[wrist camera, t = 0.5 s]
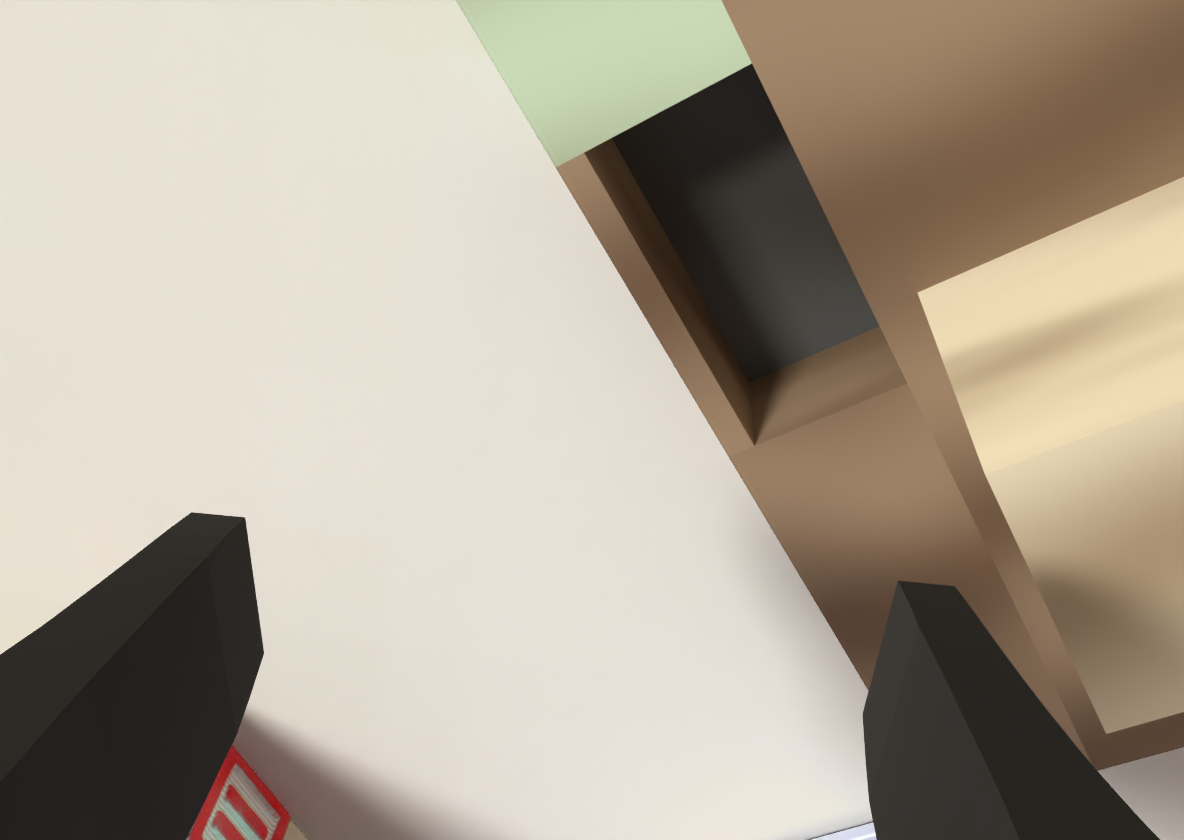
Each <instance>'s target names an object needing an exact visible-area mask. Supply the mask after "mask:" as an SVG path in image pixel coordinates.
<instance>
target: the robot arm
mask: <svg viewBox="0 0 1184 840" xmlns="http://www.w3.org/2000/svg"><path fill="white" fill-rule="evenodd" d="M263 654H264V650H263V643H262V636H261V628H260V621H259V614H258V607H257V600H256V593H255V585H254V578H253V571H252V564H251V557H250V550H249V542H248V535H247V528H246V521H245V518H244V517H234V516H223V515H213V514H203V513H192V512H191V513H190V514H189V515H187V516H186V517H185V518H183V519H182V520H181V521H179V522H178V523H176V524H175V525H174V526H172V527H171V528H170V529H169V530H167V531H166V532H165V533H163V534H162V535H161V536H159V537H158V538H157V539H156V540H154V541H153V542H152V543H150V544H149V545H148V546H147V547H145V548H144V549H143V550H141V551H140V552H139V553H138V554H136V555H135V556H134V557H132V558H131V559H130V560H129V561H127V562H126V563H125V564H124V565H122V566H121V567H120V568H118V569H117V570H116V571H114V572H113V573H112V574H111V575H109V576H108V577H107V578H105V579H104V580H103V581H101V582H100V583H99V584H97V585H96V586H95V587H93V588H92V589H91V590H90V591H88V592H87V593H86V594H84V595H83V596H82V597H80V598H79V599H78V600H76V601H75V602H74V603H72V604H71V605H70V606H68V607H67V608H66V609H64V610H63V611H62V612H60V613H59V614H58V615H56V616H55V617H54V618H52V619H51V620H50V621H48V622H47V623H46V624H44V625H43V626H41V627H40V628H38V629H37V630H36V631H34V632H33V633H31V634H30V635H28V636H27V637H25V638H24V639H22V640H21V641H20V642H18V643H17V644H15V645H14V646H12V647H11V648H9V649H8V650H6V651H5V652H4V653H2V654H1V655H0V840H186V838H187V836H188V834H189V832H190V830H191V828H192V826H193V824H194V822H195V820H196V818H197V816H198V814H199V812H200V810H201V808H202V806H203V804H204V802H205V800H206V798H207V796H208V793H209V791H210V789H211V787H212V785H213V783H214V781H215V779H216V777H217V775H218V773H219V771H220V769H221V767H222V764H223V762H224V760H225V758H226V756H227V754H228V752H229V750H230V748H231V746H232V743H233V741H234V739H235V737H236V735H237V732H238V729H239V726H240V724H241V721H242V718H243V715H244V712H245V709H246V706H247V704H248V701H249V698H250V695H251V692H252V689H253V686H254V682H255V679H256V676H257V673H258V670H259V667H260V664H261V661H262V658H263ZM863 726H864V741H865V756H866V769H867V780H868V792H869V802H870V807H871V813H872V818H873V822H872V823H869V824H865V825H862V826H858V827H854V828H851V829H847V830H844V831H840V832H836V833H833V834H829V835H826V836H822V837H818V838H815V839H811V840H1160V839H1159V838H1158V837H1157V836H1156V835H1155V834H1154V833H1153V832H1152V831H1151V830H1150V829H1149V828H1148V827H1147V826H1146V825H1145V824H1144V823H1143V821H1142V820H1141V819H1140V818H1139V817H1138V816H1137V815H1136V814H1135V813H1134V812H1133V811H1132V809H1131V808H1130V807H1129V806H1128V805H1127V804H1126V803H1125V802H1124V801H1123V799H1122V798H1121V797H1120V796H1119V795H1118V794H1117V793H1116V792H1115V790H1114V789H1113V788H1112V787H1111V786H1110V785H1109V784H1108V783H1107V782H1106V780H1105V779H1104V778H1103V777H1102V776H1101V775H1100V774H1099V772H1098V771H1097V770H1096V769H1095V768H1094V766H1093V765H1092V764H1091V763H1090V762H1089V761H1088V759H1087V758H1086V757H1085V756H1084V755H1083V753H1082V752H1081V751H1080V750H1079V749H1078V747H1077V746H1076V745H1075V744H1074V742H1073V741H1072V740H1071V739H1070V737H1069V736H1068V735H1067V734H1066V732H1065V731H1064V730H1063V729H1062V727H1061V726H1060V725H1059V724H1058V722H1057V721H1056V720H1055V719H1054V717H1053V716H1052V715H1051V714H1050V712H1049V711H1048V710H1047V709H1046V707H1045V706H1044V705H1043V704H1042V702H1041V701H1040V700H1039V699H1038V697H1037V696H1036V695H1035V693H1034V692H1033V691H1032V689H1031V688H1030V687H1029V686H1028V684H1027V683H1026V682H1025V680H1024V679H1023V678H1022V676H1021V675H1020V674H1019V672H1018V671H1017V670H1016V668H1015V667H1014V665H1013V664H1012V663H1011V661H1010V660H1009V659H1008V657H1007V656H1006V655H1005V653H1004V652H1003V651H1002V649H1001V648H1000V647H999V645H998V644H997V642H996V641H995V640H994V638H993V637H992V636H991V634H990V633H989V632H988V630H987V629H986V627H985V626H984V625H983V623H982V622H981V620H980V619H979V618H978V616H977V615H976V614H975V612H974V611H973V609H972V608H971V607H970V605H969V604H968V603H967V601H966V600H965V599H964V597H963V596H962V595H961V593H960V592H959V591H958V590H957V588H956V587H955V586H949V585H938V584H928V583H918V582H907V581H898V582H897V586H896V590H895V593H894V597H893V601H892V605H891V608H890V612H889V616H888V620H887V624H886V627H885V631H884V635H883V639H882V643H881V646H880V650H879V654H878V658H877V662H876V665H875V669H874V673H873V677H872V681H871V684H870V688H869V692H868V696H867V700H866V703H865V707H864V711H863Z"/></svg>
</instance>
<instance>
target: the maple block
mask: <svg viewBox="0 0 1184 840" xmlns="http://www.w3.org/2000/svg"><path fill="white" fill-rule="evenodd" d="M918 296H919V298H920V301H921V304H922V306H923V309H924V312H925V314H926V317H927V320H928V323H929V325H930V328H931V331H932V333H933V336H934V339H935V341H936V344H937V347H938V349H939V352H940V355H941V358H942V360H943V363H944V366H945V368H946V371H947V374H948V376H949V379H950V382H951V384H952V387H953V390H954V393H955V395H956V398H957V401H958V403H959V406H960V409H961V411H962V414H963V417H964V420H965V422H966V425H967V428H968V430H969V433H970V436H971V438H972V441H973V444H974V446H975V449H976V452H977V455H978V457H979V460H980V463H981V465H982V468H983V471H984V473H985V476H986V478H987V480H988V482H989V484H990V486H991V489H992V491H993V493H994V495H995V497H996V499H997V501H998V504H999V506H1000V508H1001V510H1002V512H1003V514H1004V516H1005V518H1006V521H1007V523H1008V525H1009V527H1010V529H1011V531H1012V533H1013V536H1014V538H1015V540H1016V542H1017V544H1018V546H1019V548H1020V551H1021V553H1022V555H1023V557H1024V559H1025V561H1026V563H1027V566H1028V568H1029V570H1030V572H1031V574H1032V576H1033V578H1034V580H1035V583H1036V585H1037V587H1038V589H1039V591H1040V593H1041V595H1042V598H1043V600H1044V602H1045V604H1046V606H1047V608H1048V610H1049V613H1050V615H1051V617H1052V619H1053V621H1054V623H1055V625H1056V628H1057V630H1058V632H1059V634H1060V636H1061V638H1062V640H1063V642H1064V645H1065V647H1066V649H1067V651H1068V653H1069V655H1070V657H1071V660H1072V662H1073V664H1074V666H1075V668H1076V670H1077V672H1078V675H1079V677H1080V679H1081V681H1082V683H1083V685H1084V687H1085V690H1086V692H1087V694H1088V696H1089V698H1090V700H1091V702H1092V704H1093V707H1094V709H1095V711H1096V713H1097V715H1098V717H1099V719H1100V722H1101V724H1102V726H1103V728H1104V730H1105V732H1106V734H1108V733H1112V732H1115V731H1119V730H1122V729H1126V728H1129V727H1133V726H1136V725H1140V724H1143V723H1147V722H1150V721H1154V720H1157V719H1161V718H1164V717H1168V716H1171V715H1175V714H1178V713H1182V712H1184V177H1182V178H1180V179H1178V180H1175V181H1173V182H1171V183H1168V184H1166V185H1164V186H1162V187H1159V188H1157V189H1155V190H1152V191H1150V192H1148V193H1145V194H1143V195H1141V196H1139V197H1136V198H1134V199H1132V200H1129V201H1127V202H1125V203H1122V204H1120V205H1118V206H1116V207H1113V208H1111V209H1109V210H1106V211H1104V212H1102V213H1099V214H1097V215H1095V216H1093V217H1090V218H1088V219H1086V220H1083V221H1081V222H1079V223H1076V224H1074V225H1072V226H1070V227H1067V228H1065V229H1063V230H1060V231H1058V232H1056V233H1053V234H1051V235H1049V236H1047V237H1044V238H1042V239H1040V240H1037V241H1035V242H1033V243H1030V244H1028V245H1026V246H1024V247H1021V248H1019V249H1017V250H1014V251H1012V252H1010V253H1007V254H1005V255H1003V256H1001V257H998V258H996V259H994V260H991V261H989V262H987V263H985V264H982V265H980V266H978V267H975V268H973V269H971V270H968V271H966V272H964V273H962V274H959V275H957V276H955V277H952V278H950V279H948V280H945V281H943V282H941V283H939V284H936V285H934V286H932V287H929V288H927V289H925V290H922V291H920V292H918Z"/></svg>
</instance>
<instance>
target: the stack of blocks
mask: <svg viewBox="0 0 1184 840" xmlns="http://www.w3.org/2000/svg"><path fill="white" fill-rule="evenodd" d="M186 840H308V839H307V838H306V837H305V835H304V834H303V833H302V832H301V831H300V829H299V828H298V827H297V826H296V825H295V824H294V823H293V822H292V821H291V819H290V815H289V813H288V812H287V811H286V810H285V809H284V807H283V806H282V805H281V804H280V802H279V801H278V800H277V799H276V797H275V796H274V795H273V794H272V793H271V792H270V790H269V789H268V788H267V787H266V786H265V784H264V783H263V782H262V781H261V780H260V778H259V777H258V776H257V775H256V773H255V772H254V771H253V770H252V769H251V767H250V766H249V765H248V764H247V763H246V762H245V760H244V759H243V758H242V757H241V756H240V754H239V753H238V752H237V751H236V750H235V748H234V747H233V746H231V748H230V750H229V752H228V754H227V756H226V758H225V760H224V762H223V764H222V767H221V769H220V771H219V773H218V775H217V777H216V779H215V781H214V783H213V785H212V787H211V789H210V791H209V793H208V796H207V798H206V800H205V802H204V804H203V806H202V808H201V810H200V812H199V814H198V816H197V818H196V820H195V822H194V824H193V826H192V828H191V830H190V832H189V834H188V836H187V838H186Z"/></svg>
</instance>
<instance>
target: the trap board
mask: <svg viewBox="0 0 1184 840" xmlns="http://www.w3.org/2000/svg"><path fill="white" fill-rule="evenodd" d="M456 1H457V3H458V5H459V6H460V8H461V10H462V12H463V13H464V15H465V17H466V18H467V20H468V22H469V23H470V25H471V27H472V28H473V30H474V32H475V33H476V35H477V37H478V38H479V40H480V42H481V43H482V45H483V47H484V48H485V50H486V52H487V53H488V55H489V57H490V58H491V60H492V62H493V63H494V65H495V67H496V68H497V70H498V72H499V73H500V75H501V77H502V78H503V80H504V82H505V83H506V85H507V87H508V88H509V90H510V92H511V93H512V95H513V97H514V98H515V100H516V102H517V103H518V105H519V107H520V108H521V110H522V112H523V114H524V115H525V117H526V119H527V120H528V122H529V124H530V125H531V127H532V129H533V130H534V132H535V134H536V135H537V137H538V139H539V140H540V142H541V144H542V145H543V147H544V149H545V150H546V152H547V154H548V155H549V157H550V159H551V160H552V162H553V164H554V165H555V167H556V169H557V170H558V172H559V174H560V175H561V177H562V179H563V180H564V182H565V184H566V185H567V187H568V189H569V190H570V192H571V194H572V195H573V197H574V199H575V200H576V202H577V204H578V205H579V207H580V209H581V211H582V212H583V214H584V216H585V217H586V219H587V221H588V222H589V224H590V226H591V227H592V229H593V231H594V232H595V234H596V236H597V237H598V239H599V241H600V242H601V244H602V246H603V247H604V249H605V251H606V252H607V254H608V256H609V257H610V259H611V261H612V262H613V264H614V266H615V267H616V269H617V271H618V272H619V274H620V276H621V277H622V279H623V281H624V282H625V284H626V286H627V287H628V289H629V291H630V292H631V294H632V296H633V297H634V299H635V301H636V302H637V304H638V306H639V308H640V309H641V311H642V313H643V314H644V316H645V318H646V319H647V321H648V323H649V324H650V326H651V328H652V329H653V331H654V333H655V334H656V336H657V338H658V339H659V341H660V343H661V344H662V346H663V348H664V349H665V351H666V353H667V354H668V356H669V358H670V359H671V361H672V363H673V364H674V366H675V368H676V369H677V371H678V373H679V374H680V376H681V378H682V379H683V381H684V383H685V384H686V386H687V388H688V389H689V391H690V393H691V394H692V396H693V398H694V399H695V401H696V403H697V404H698V406H699V408H700V410H701V411H702V413H703V415H704V416H705V418H706V420H707V421H708V423H709V425H710V426H711V428H712V430H713V431H714V433H715V435H716V436H717V438H718V440H719V441H720V443H721V445H722V446H723V448H724V450H725V451H726V453H727V455H728V456H729V458H730V460H731V461H732V463H733V465H734V466H735V468H736V470H737V471H738V473H739V475H740V476H741V478H742V480H743V481H744V483H745V485H746V486H747V488H748V490H749V491H750V493H751V495H752V496H753V498H754V500H755V501H756V503H757V505H758V507H759V508H760V510H761V512H762V513H763V515H764V517H765V518H766V520H767V522H768V523H769V525H770V527H771V528H772V530H773V532H774V533H775V535H776V537H777V538H778V540H779V542H780V543H781V545H782V547H783V548H784V550H785V552H786V553H787V555H788V557H789V558H790V560H791V562H792V563H793V565H794V567H795V568H796V570H797V572H798V573H799V575H800V577H801V578H802V580H803V582H804V583H805V585H806V587H807V588H808V590H809V592H810V593H811V595H812V597H813V598H814V600H815V602H816V604H817V605H818V607H819V609H820V610H821V612H822V614H823V615H824V617H825V619H826V620H827V622H828V624H829V625H830V627H831V629H832V630H833V632H834V634H835V635H836V637H837V639H838V640H839V642H840V644H841V645H842V647H843V649H844V650H845V652H846V654H847V655H848V657H849V659H850V660H851V662H852V664H853V665H854V667H855V669H856V670H857V672H858V674H859V675H860V677H861V679H862V680H863V682H864V684H865V685H866V687H867V689H868V690H869V688H870V684H871V681H872V677H873V673H874V669H875V665H876V662H877V658H878V654H879V650H880V646H881V643H882V639H883V635H884V631H885V627H886V624H887V620H888V616H889V612H890V608H891V605H892V601H893V597H894V593H895V590H896V586H897V582H898V581H907V582H918V583H928V584H938V585H949V586H955V587H956V588H957V590H958V591H959V592H960V593H961V595H962V596H963V597H964V599H965V600H966V601H967V603H968V604H969V605H970V607H971V608H972V609H973V611H974V612H975V614H976V615H977V616H978V618H979V619H980V620H981V622H982V623H983V625H984V626H985V627H986V629H987V630H988V632H989V633H990V634H991V636H992V637H993V638H994V640H995V641H996V642H997V644H998V645H999V647H1000V648H1001V649H1002V651H1003V652H1004V653H1005V655H1006V656H1007V657H1008V659H1009V660H1010V661H1011V663H1012V664H1013V665H1014V667H1015V668H1016V670H1017V671H1018V672H1019V674H1020V675H1021V676H1022V678H1023V679H1024V680H1025V682H1026V683H1027V684H1028V686H1029V687H1030V688H1031V689H1032V691H1033V692H1034V693H1035V695H1036V696H1037V697H1038V699H1039V700H1040V701H1041V702H1042V704H1043V705H1044V706H1045V707H1046V709H1047V710H1048V711H1049V712H1050V714H1051V715H1052V716H1053V717H1054V719H1055V720H1056V721H1057V722H1058V724H1059V725H1060V726H1061V727H1062V729H1063V730H1064V731H1065V732H1066V734H1067V735H1068V736H1069V737H1070V739H1071V740H1072V741H1073V742H1074V744H1075V745H1076V746H1077V747H1078V749H1079V750H1080V751H1081V752H1082V753H1083V755H1084V756H1085V757H1086V758H1087V759H1088V761H1089V762H1090V763H1091V764H1092V765H1093V766H1094V768H1095V769H1096V770H1097V771H1098V770H1101V769H1105V768H1109V767H1112V766H1116V765H1119V764H1123V763H1127V762H1130V761H1134V760H1138V759H1141V758H1145V757H1149V756H1152V755H1156V754H1160V753H1163V752H1167V751H1170V750H1174V749H1178V748H1181V747H1184V712H1182V713H1178V714H1175V715H1171V716H1168V717H1164V718H1161V719H1157V720H1154V721H1150V722H1147V723H1143V724H1140V725H1136V726H1133V727H1129V728H1126V729H1122V730H1119V731H1115V732H1112V733H1108V734H1106V732H1105V730H1104V728H1103V726H1102V724H1101V722H1100V719H1099V717H1098V715H1097V713H1096V711H1095V709H1094V707H1093V704H1092V702H1091V700H1090V698H1089V696H1088V694H1087V692H1086V690H1085V687H1084V685H1083V683H1082V681H1081V679H1080V677H1079V675H1078V672H1077V670H1076V668H1075V666H1074V664H1073V662H1072V660H1071V657H1070V655H1069V653H1068V651H1067V649H1066V647H1065V645H1064V642H1063V640H1062V638H1061V636H1060V634H1059V632H1058V630H1057V628H1056V625H1055V623H1054V621H1053V619H1052V617H1051V615H1050V613H1049V610H1048V608H1047V606H1046V604H1045V602H1044V600H1043V598H1042V595H1041V593H1040V591H1039V589H1038V587H1037V585H1036V583H1035V580H1034V578H1033V576H1032V574H1031V572H1030V570H1029V568H1028V566H1027V563H1026V561H1025V559H1024V557H1023V555H1022V553H1021V551H1020V548H1019V546H1018V544H1017V542H1016V540H1015V538H1014V536H1013V533H1012V531H1011V529H1010V527H1009V525H1008V523H1007V521H1006V518H1005V516H1004V514H1003V512H1002V510H1001V508H1000V506H999V504H998V501H997V499H996V497H995V495H994V493H993V491H992V489H991V486H990V484H989V482H988V480H987V478H986V476H985V473H984V471H983V468H982V465H981V463H980V460H979V457H978V455H977V452H976V449H975V446H974V444H973V441H972V438H971V436H970V433H969V430H968V428H967V425H966V422H965V420H964V417H963V414H962V411H961V409H960V406H959V403H958V401H957V398H956V395H955V393H954V390H953V387H952V384H951V382H950V379H949V376H948V374H947V371H946V368H945V366H944V363H943V360H942V358H941V355H940V352H939V349H938V347H937V344H936V341H935V339H934V336H933V333H932V331H931V328H930V325H929V323H928V320H927V317H926V314H925V312H924V309H923V306H922V304H921V301H920V298H919V296H918V292H920V291H922V290H925V289H927V288H929V287H932V286H934V285H936V284H939V283H941V282H943V281H945V280H948V279H950V278H952V277H955V276H957V275H959V274H962V273H964V272H966V271H968V270H971V269H973V268H975V267H978V266H980V265H982V264H985V263H987V262H989V261H991V260H994V259H996V258H998V257H1001V256H1003V255H1005V254H1007V253H1010V252H1012V251H1014V250H1017V249H1019V248H1021V247H1024V246H1026V245H1028V244H1030V243H1033V242H1035V241H1037V240H1040V239H1042V238H1044V237H1047V236H1049V235H1051V234H1053V233H1056V232H1058V231H1060V230H1063V229H1065V228H1067V227H1070V226H1072V225H1074V224H1076V223H1079V222H1081V221H1083V220H1086V219H1088V218H1090V217H1093V216H1095V215H1097V214H1099V213H1102V212H1104V211H1106V210H1109V209H1111V208H1113V207H1116V206H1118V205H1120V204H1122V203H1125V202H1127V201H1129V200H1132V199H1134V198H1136V197H1139V196H1141V195H1143V194H1145V193H1148V192H1150V191H1152V190H1155V189H1157V188H1159V187H1162V186H1164V185H1166V184H1168V183H1171V182H1173V181H1175V180H1178V179H1180V178H1182V177H1184V0H456Z"/></svg>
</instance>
